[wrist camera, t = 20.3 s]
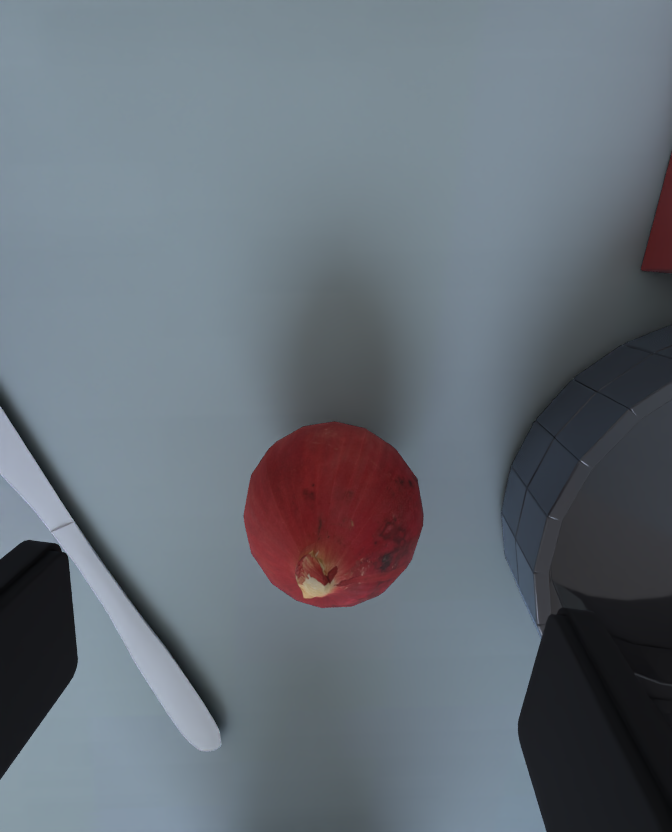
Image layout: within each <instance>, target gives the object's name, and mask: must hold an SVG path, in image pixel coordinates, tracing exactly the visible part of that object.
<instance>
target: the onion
mask: <svg viewBox="0 0 672 832" xmlns="http://www.w3.org/2000/svg"><path fill="white" fill-rule="evenodd" d="M423 516H424V514H423V509H422V503H421V497H420V491H419V485H418V480H417V478H416V476H415V475H414V473H413V472H412V471H411V469H410V468H409V467H408V465H407V464H406V462H405V461H404V460H403V458H402V457H401V456H400V454H399V453H398V451H397V450H396V449H395V448H394V447H392V446H391V445H390V444H388V443H387V442H385V441H384V440H382V439H381V438H379V437H378V436H376V435H375V434H373V433H372V432H370V431H369V430H367V429H366V428H362V427H357V426H353V425H348V424H344V423H340V422H335V421H334V422H328V423H321V424H315V425H309V426H303V427H301V428H300V429H298V430H296V431H294V432H293V433H291V434H289V435H287V436H286V437H284V438H282V439H280V440H279V441H277V442H276V443H275V444H273V445H272V446H271V447H270V448H269V449H268V451H267V452H266V454H265V455H264V457H263V458H262V460H261V461H260V463H259V464H258V466H257V467H256V469H255V470H254V472H253V473H252V475H251V478H250V483H249V488H248V494H247V499H246V505H245V511H244V522H245V528H246V532H247V536H248V541H249V545H250V550H251V554H252V555H253V557H254V558H255V559H256V561H257V562H258V564H259V565H260V567H261V568H262V570H263V571H264V573H265V574H266V576H267V577H268V579H269V580H270V582H271V583H272V584H273V585H275V586H276V587H278V588H279V589H280V590H282V591H283V592H285V593H286V594H288V595H289V596H291V597H292V598H294V599H295V600H297V601H299V602H303V603H306V604H310V605H313V606H317V607H320V608H329V607H351V606H354V605H356V604H359V603H361V602H364V601H366V600H369V599H371V598H374V597H376V596H379V595H380V594H381V593H383V592H384V591H385V590H386V589H387V588H388V587H389V586H390V585H391V584H392V583H393V582H394V581H395V579H396V578H397V577H398V576H399V575H400V574H401V573H402V572H403V571H404V570H405V569H406V568H407V566H408V565H409V563H410V561H411V560H412V557H413V554H414V551H415V548H416V545H417V542H418V539H419V536H420V533H421V530H422V527H423Z"/></svg>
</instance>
